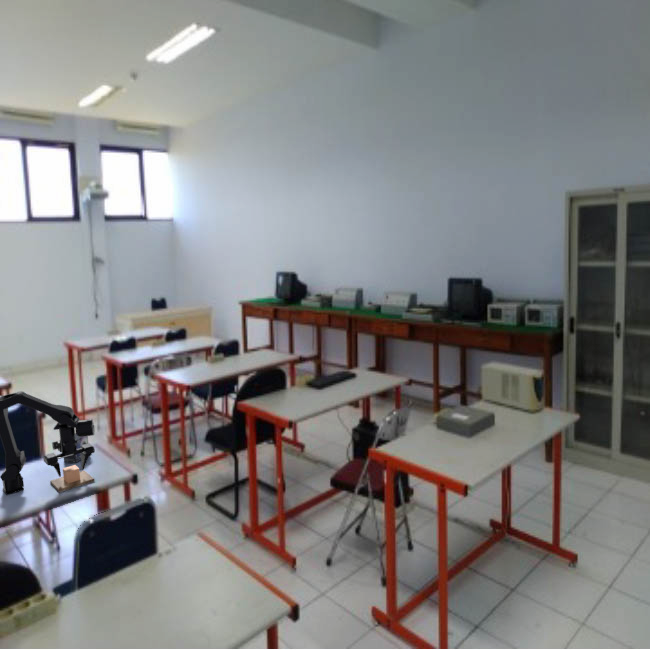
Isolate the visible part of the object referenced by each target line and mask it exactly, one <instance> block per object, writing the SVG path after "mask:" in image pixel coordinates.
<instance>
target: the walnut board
mask: <svg viewBox="0 0 650 650" xmlns="http://www.w3.org/2000/svg"><path fill="white" fill-rule="evenodd" d="M79 472H80V480H78V481H74V482H71V483H67V482H66V481H65V480H64V476H61V477H58V478H55V479H51V480H49V481H50V484H51V485H52V486H53V488H55V490H56V491H57V492H58V493H61V492H65V491H68V490H71V489H74V488H77V487H80V486H83V485H87V484H89V483H90V484H91V483H93V482H95V478H94V477H93V476H92V475H90V474H89V473H88V472H87V471H86V470H85V469H84V470H82V471H79Z"/></svg>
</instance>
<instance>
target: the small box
mask: <svg viewBox="0 0 650 650" xmlns="http://www.w3.org/2000/svg"><path fill="white" fill-rule="evenodd" d="M75 438H76V441H77V443H76V448H77V449H80V446H81V445H84V444H88V443H89V436H83V437H79V436H77V435H76V432H75ZM63 462H64V463H70V464H77V463H78V462H81V454H80V453H79V454H75V455H72V456H68V457H64V458H63Z"/></svg>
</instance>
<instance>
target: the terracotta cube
mask: <svg viewBox="0 0 650 650" xmlns="http://www.w3.org/2000/svg"><path fill="white" fill-rule="evenodd" d="M80 472H81V471H80V468H79V467H78V466H77V465H76V464H73V465H70V466H67V467H62V474H63V476H62V477H64V480H65V481H66V482H67V483H71V482H74V481H78V480H80Z"/></svg>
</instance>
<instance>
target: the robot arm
mask: <svg viewBox="0 0 650 650" xmlns="http://www.w3.org/2000/svg"><path fill="white" fill-rule="evenodd" d="M18 404H19V405H22V406H25V407H27V408H30V409H32V410H35V411H37V412H39V413H42V414H45V415H47V416H49V417H50V418H51V419H52V420H53V421H55V422H57V423H56V424H55V425H54V427H53V430H54V431H56V430H57V431H58V430H59V431H58V432H59V442H58V440H57V441H53V442H51V444H52V450H53V451H56V450H57V451H58V452H59V453H57V454H56V453H54V452H51V453H47V454H45V455H44V456H43V463H45V464H46V465H47V466H51V467H53V468H54V469H55V471H56V473H57V475H58V478H61V477H62V474H61V473H62V472H61V467H60V462H59V460H60V459H64V457H68V456H72V455H75V454H79V453H80V454H81V460H80V462H81V463H80V466H81V470H82V471H84V470H85V467H86V465H87V462H88V460H89V458H90V456H93V454H94V453H95V446H93V445H92V444H91V443H89V442H88V444H84V445H81V446H80V449H77V448H76V443H77V441H76V438H75V433H76V435H77V436H79V437H83V436H88V437H90V436H95V424H94V421H93V418H88V419H82V420H81V419H80V417H79V416H77V415H76V413H75V412H74V409H73V408H71V406H67V405H62V404H54V403H50V402H49V401H45V400H43V399H41V398H38V397H36V396H33V395H30V394H28V393H25V391H21V390H20V391H17V392H13V393H8V394H5V395H0V440H1V444H2V447H3V449H4V450H3V451H4V453H5V454H4V456H5V459H4V464H5V465H4V466H5V469H4V470H3V472H2V473H1V474H0V479H1V481H2V487H3V488H2V491H3V493H4V494H5V495H10V494H14V493H19V492H20V491H24V490H25V489H24V486H25V484H24V477H23V476H22V474H21V473H20V472H21V471H22V469H23V468H24V466H25V465H26V461H27V457H26V456H25V450H22V451H20V449H19V448H18V447H17V443H16V439H15V437H14V433H13V430H12V427H11V423H10V419H9V416H8V415H9V408H11V407H14V405H16V406H17V405H18Z"/></svg>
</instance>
